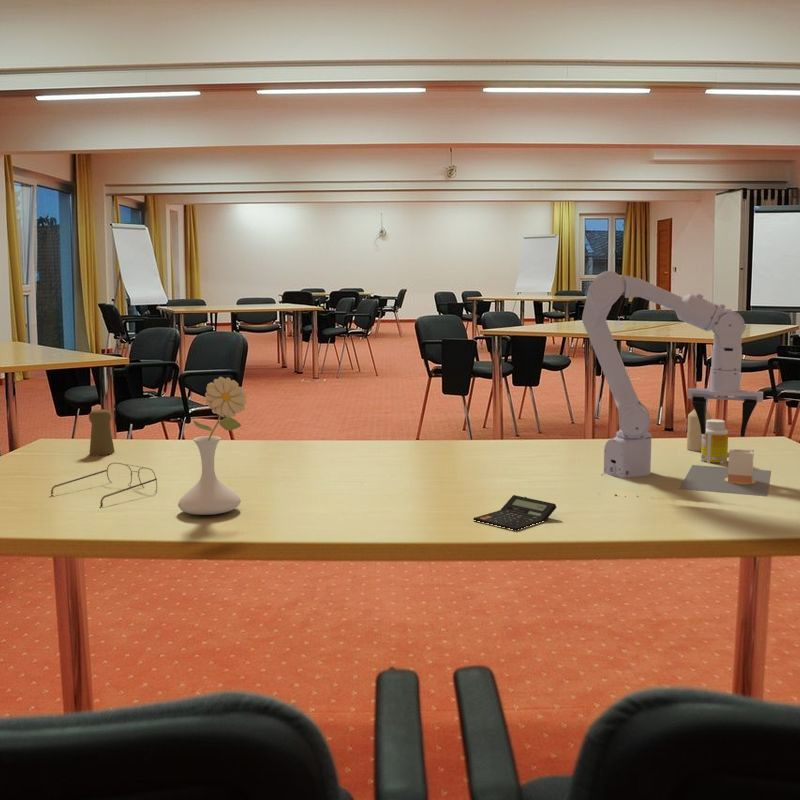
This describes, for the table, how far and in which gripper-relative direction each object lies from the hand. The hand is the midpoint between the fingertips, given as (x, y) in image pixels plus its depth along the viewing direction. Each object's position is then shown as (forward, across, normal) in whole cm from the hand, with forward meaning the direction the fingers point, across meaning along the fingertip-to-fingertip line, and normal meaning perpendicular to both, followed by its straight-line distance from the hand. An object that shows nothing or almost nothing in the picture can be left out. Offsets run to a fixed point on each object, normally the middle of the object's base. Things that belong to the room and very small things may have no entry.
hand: (722, 434), depth 181 cm
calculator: (+11, +30, +45) cm, 55 cm away
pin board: (+10, -1, +3) cm, 10 cm away
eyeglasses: (+11, +112, +59) cm, 127 cm away
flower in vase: (+11, +83, +62) cm, 104 cm away
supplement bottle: (+10, +3, -16) cm, 19 cm away
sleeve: (+9, -4, +3) cm, 10 cm away
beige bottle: (+10, +8, -34) cm, 36 cm away
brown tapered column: (+11, +143, +27) cm, 146 cm away
